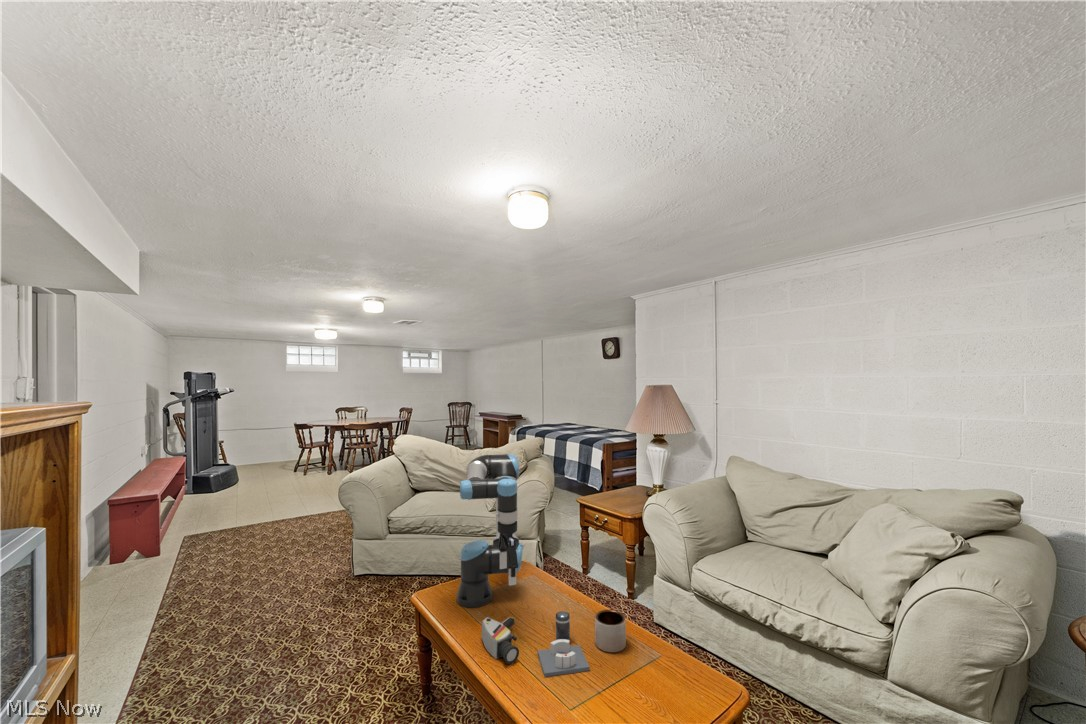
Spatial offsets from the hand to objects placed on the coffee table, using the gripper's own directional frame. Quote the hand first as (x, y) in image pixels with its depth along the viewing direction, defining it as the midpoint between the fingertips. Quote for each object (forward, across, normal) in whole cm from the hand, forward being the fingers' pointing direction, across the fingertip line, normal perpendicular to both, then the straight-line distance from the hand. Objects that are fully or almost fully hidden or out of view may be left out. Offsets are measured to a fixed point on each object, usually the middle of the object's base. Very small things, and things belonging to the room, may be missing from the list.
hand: (507, 576), depth 171 cm
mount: (+19, +27, +12) cm, 35 cm away
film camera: (+19, +11, -3) cm, 23 cm away
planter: (+19, +24, +31) cm, 44 cm away
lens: (+19, +15, +16) cm, 30 cm away
